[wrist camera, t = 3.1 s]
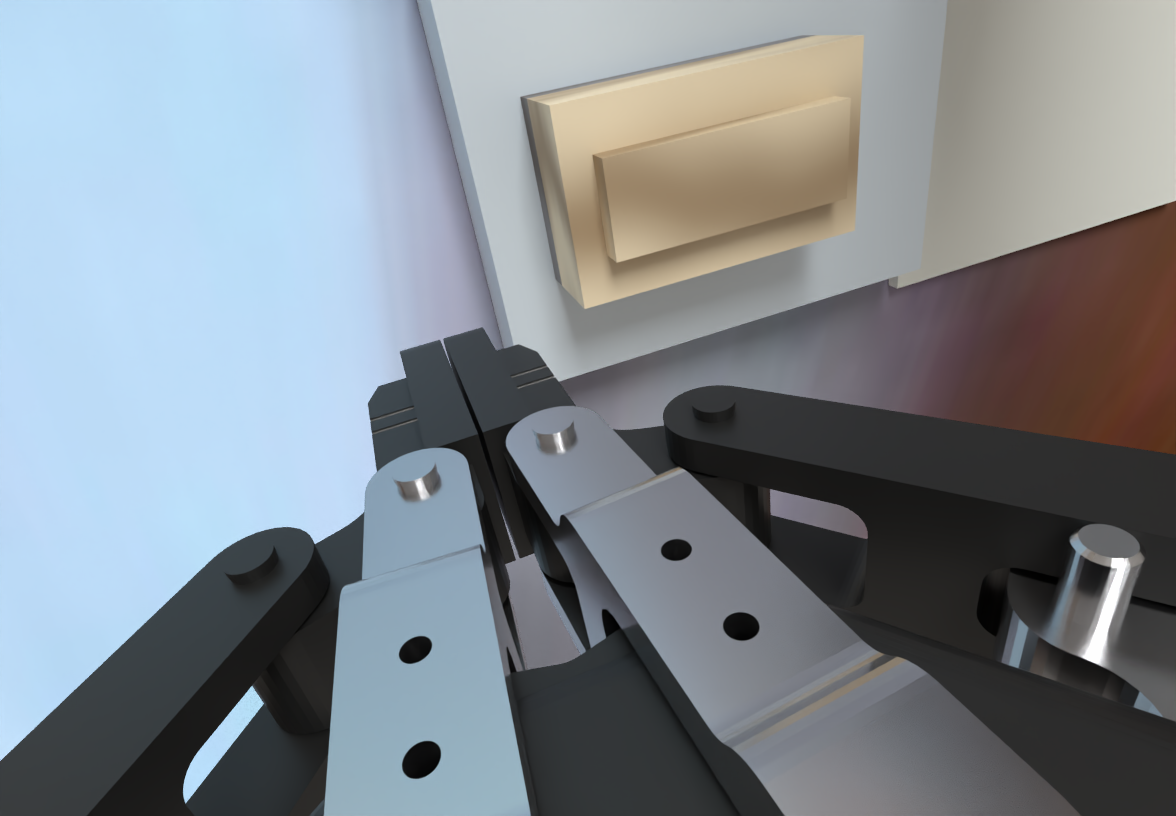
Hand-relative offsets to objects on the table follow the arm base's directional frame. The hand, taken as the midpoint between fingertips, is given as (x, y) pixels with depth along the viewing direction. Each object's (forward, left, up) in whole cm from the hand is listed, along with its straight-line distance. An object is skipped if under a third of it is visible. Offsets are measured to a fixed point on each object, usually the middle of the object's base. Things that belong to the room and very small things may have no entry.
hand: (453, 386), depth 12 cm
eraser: (0, +10, -11) cm, 15 cm away
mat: (0, +31, -14) cm, 34 cm away
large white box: (0, +12, -14) cm, 19 cm away
